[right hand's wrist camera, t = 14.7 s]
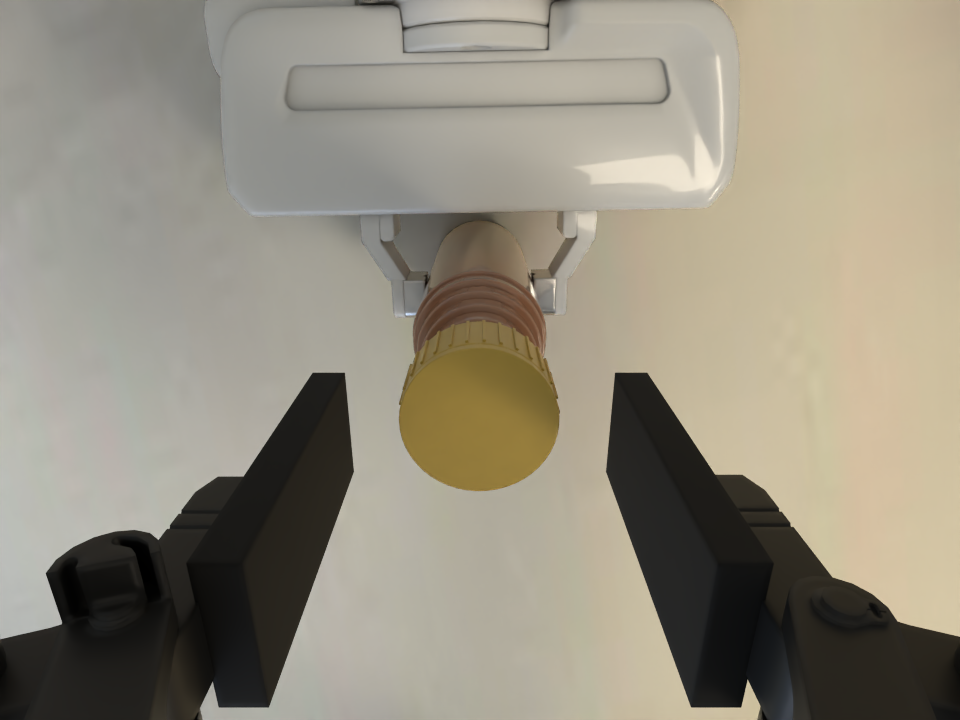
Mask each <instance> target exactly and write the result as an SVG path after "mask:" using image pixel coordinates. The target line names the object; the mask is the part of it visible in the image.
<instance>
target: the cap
mask: <svg viewBox="0 0 960 720" xmlns="http://www.w3.org/2000/svg"><path fill="white" fill-rule="evenodd" d="M556 399H558V395H557V392H556V388H555V385H554V381H553V378H552V374H551V372H550V370H549V367H548V363H547V360H546V358H545V359H543V357H542V355H541V354H540V350H539V347H538V346H537V347H535V346H534V345H533V343H532V342H530V341H529V337H528V336H526V337H525V336H523V335H522V334H520V333H519V332H517V331H516V329H515V328H513V329H511V328H509V327H506V326H504V325H501V323H500V322H498V324H497V323H492V322H485V320H482V321H479V322H478V321H476V322H470V321H466V323H462V324H458V325H454V324H453V325H451V327H450V328H447V329H445V330H443V331H441V332H440V331H438V332H437V334H436V335H435V336H434V337H433V338H431V339H430V340H429V341H428V340H426V341H425V345H424V346H423V347H422V349H421V350H420V351H419V352H418V351H417V352H416V355H415V358H414V362H413V364H410V366H409V370H408V373H407V376H406V380H405V383H404V386H403V392H402V395H401V398H400V402H399V405H401V406H400V411H399V426H400V432H401V436H402V440H403V442H404V445H405V447H406V449H407V451H408V453H409V454H410V456H411V457H412V459H413V460H414V461H415V463H416V464H417V465H418V466H419V467H420V468H421V469H422V470H423V471H424V472H426V473H427V474H428V475H430V476H431V477H433V478H434V479H436V480H438V481H439V482H442V483H444V484H446V485H448V486H452V487H455V488H458V489H463V490H470V491H488V490H496V489H500V488H504V487H507V486H510V485H512V484H515V483H517V482H519V481H521V480H523V479H524V478H526V477H527V476H529V475H530V474H532V473H533V472H534V471H535V470H536V469H537V468H538V467H539V466H540V465H541V464H542V463H543V462H544V461H545V459H546V458H547V456H548V455H549V453H550V452H551V450H552V448H553V446H554V444H555V441H556V437H557V434H558V428H559V414H560V410H559V407H558V403H557V400H556Z"/></svg>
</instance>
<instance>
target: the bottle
mask: <svg viewBox="0 0 960 720" xmlns="http://www.w3.org/2000/svg"><path fill="white" fill-rule="evenodd" d="M482 320H485V322H492V323H497V324H498V322H500V323H501V325H504V326H506V327H509V328H511V329H513V328H515V329H516V331H517V332H519V333H520V334H522V335H523V336H525V337H526V336H528V337H529V341H530V342H532V343H533V345H534V346H535V347H537V346H538V347H539V350H540V354H541V355H542V357H544V353H545V346H546V325H545V320H544V316H543V313H542V310H541V307H540V304H539V301H538V298H537V295H536V292H535V289H534V286H533V283H532V280H531V277H530V274H529V271H528V268H527V265H526V262H525V259H524V256H523V253H522V250H521V248H520V245H519V243H518V242H517V240H516V239H515V237H514V236H513V235H512V234H511V233H510V232H509V231H508V230H507V229H505V228H504V227H502V226H500V225H498V224H496V223H493V222H489V221H471V222H467V223H464V224H462V225H460V226H458V227H456V228H455V229H453V230H452V231H451V232H450V233H449V234H448V235H447V236H446V237H445V238H444V240H443V241H442V243H441V245H440V247H439V250H438V253H437V256H436V259H435V262H434V264H433V267H432V270H431V273H430V276H429V279H428V282H427V285H426V288H425V290H424V293H423V296H422V299H421V302H420V305H419V308H418V311H417V314H416V317H415V321H414V326H413V343H414V352H415V355H416V352H417V351H418V352H419V351H420V350H421V349H422V347H423V346H424V345H425V341H426V340H428V341H429V340H430V339H431V338H433V337H434V336H435V335H436V334H437V332H438V331H440V332H441V331H443V330H445V329H447V328H450V327H451V325H453V324H454V325H458V324H462V323H466V321H470V322H476V321H478V322H479V321H482Z"/></svg>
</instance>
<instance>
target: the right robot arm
mask: <svg viewBox="0 0 960 720" xmlns="http://www.w3.org/2000/svg"><path fill="white" fill-rule="evenodd" d="M353 473H354V468H353V457H352V447H351V436H350V425H349V414H348V403H347V392H346V381H345V373H312V375H311V376H310V378H309V379H308V381H307V382H306V384H305V385H304V387H303V388H302V390H301V391H300V393H299V394H298V396H297V397H296V399H295V400H294V402H293V403H292V405H291V406H290V408H289V409H288V411H287V412H286V414H285V415H284V417H283V418H282V420H281V421H280V423H279V424H278V426H277V427H276V429H275V430H274V432H273V433H272V435H271V436H270V438H269V439H268V441H267V442H266V444H265V445H264V447H263V448H262V450H261V451H260V453H259V454H258V456H257V457H256V459H255V460H254V462H253V463H252V465H251V466H250V468H249V469H248V471H247V472H246V474H245V475H244V477H217V478H215V479H214V480H213V481H211V482H210V483H208V484H207V485H205V486H204V487H202V488H201V489H199V490H198V491H196V492H195V493H194V495H193V496H192V497H191V499H190V500H189V501H188V502H187V504H186V505H185V506H184V508H183V509H182V512H181V514H178V516H177V517H176V518H175V519H174V521H173V522H172V523H171V525H170V529H167V530H166V531H165V532H164V534H163V535H162V536H161V538H160V539H159V540H158V539H156V538H155V537H154V536H153V535H151V534H150V533H147V532H142V531H137V530H129V531H117V532H112V533H108V534H105V535H101V536H98V537H94V538H92V539H90V540H88V541H85V542H83V543H81V544H79V545H77V546H75V547H73V548H72V549H70V550H69V551H68V552H66V553H65V554H63V555H62V556H61V557H59V558H58V559H57V560H56V561H55V562H54V563H53V565H52V566H51V567H50V569H49V570H48V571H47V572H46V576H47V579H48V581H49V584H50V587H51V590H52V593H53V596H54V599H55V602H56V605H57V608H58V611H59V614H60V617H61V620H62V625H59V626H55V627H52V628H48V629H43V630H39V631H35V632H30V633H26V634H22V635H17V636H13V637H9V638H4V639H0V720H202V715H201V711H200V707H201V705H202V702H203V700H204V698H205V696H206V694H207V692H208V690H209V688H210V686H211V684H212V682H213V684H214V688H215V693H216V697H217V701H218V706H219V707H269V705H270V703H271V700H272V697H273V694H274V692H275V689H276V686H277V683H278V680H279V678H280V675H281V672H282V669H283V667H284V664H285V661H286V658H287V656H288V653H289V650H290V647H291V644H292V642H293V639H294V636H295V633H296V631H297V628H298V625H299V622H300V619H301V617H302V614H303V611H304V608H305V606H306V603H307V600H308V597H309V595H310V592H311V589H312V586H313V583H314V581H315V578H316V575H317V572H318V570H319V567H320V564H321V561H322V558H323V556H324V553H325V550H326V547H327V545H328V542H329V539H330V536H331V534H332V531H333V528H334V525H335V522H336V520H337V517H338V514H339V511H340V509H341V506H342V503H343V500H344V497H345V495H346V492H347V489H348V486H349V484H350V481H351V478H352V475H353ZM606 473H607V475H608V478H609V481H610V484H611V486H612V489H613V492H614V495H615V497H616V500H617V503H618V506H619V509H620V511H621V514H622V517H623V520H624V522H625V525H626V528H627V531H628V534H629V536H630V539H631V542H632V545H633V547H634V550H635V553H636V556H637V558H638V561H639V564H640V567H641V570H642V572H643V575H644V578H645V581H646V583H647V586H648V589H649V592H650V595H651V597H652V600H653V603H654V606H655V608H656V611H657V614H658V617H659V619H660V622H661V625H662V628H663V631H664V633H665V636H666V639H667V642H668V644H669V647H670V650H671V653H672V656H673V658H674V661H675V664H676V667H677V669H678V672H679V675H680V678H681V680H682V683H683V686H684V689H685V692H686V694H687V697H688V700H689V703H690V705H691V707H741V706H742V701H743V697H744V693H745V688H746V684H747V679H748V681H749V683H750V685H751V687H752V689H753V691H754V693H755V695H756V697H757V699H758V701H759V704H760V706H761V707H760V711H759V715H758V719H757V720H960V637H958V636H954V635H949V634H945V633H941V632H936V631H932V630H928V629H923V628H919V627H915V626H910V625H907V624H903V623H900V622H897V620H896V619H895V617H894V616H893V614H892V613H891V611H890V610H889V608H888V607H887V606H886V605H884V604H883V603H882V602H881V601H880V600H878V599H877V598H876V597H875V596H874V595H872V594H871V593H869V592H867V591H865V590H863V589H861V588H859V587H858V586H856V585H854V584H852V583H848V582H845V581H842V580H839V579H836V578H832V576H831V575H830V574H829V572H828V571H827V570H826V569H825V567H824V566H823V565H822V563H821V562H820V561H819V559H818V558H817V557H816V556H815V554H814V553H813V552H812V550H811V549H810V548H809V547H808V545H807V544H806V543H805V541H804V540H803V539H802V538H801V536H800V535H799V534H798V532H797V531H796V530H795V528H794V527H791V525H790V522H789V521H788V519H787V518H786V517H785V516H784V514H783V513H782V512H779V508H778V506H777V505H776V504H775V503H774V501H773V500H772V499H771V497H770V496H769V495H768V494H767V492H766V491H765V490H764V489H762V488H761V487H759V486H758V485H756V484H755V483H754V482H752V481H751V480H749V479H748V478H746V477H745V476H743V475H715V474H714V472H713V471H712V469H711V468H710V466H709V465H708V463H707V462H706V460H705V459H704V457H703V456H702V454H701V453H700V451H699V450H698V448H697V447H696V445H695V444H694V442H693V441H692V439H691V438H690V436H689V435H688V433H687V432H686V430H685V429H684V427H683V426H682V424H681V423H680V421H679V420H678V418H677V417H676V415H675V414H674V412H673V411H672V409H671V408H670V406H669V405H668V403H667V402H666V400H665V399H664V397H663V396H662V394H661V393H660V391H659V390H658V388H657V387H656V385H655V384H654V382H653V381H652V379H651V378H650V376H649V375H648V373H615V381H614V392H613V403H612V414H611V425H610V436H609V447H608V457H607V468H606Z"/></svg>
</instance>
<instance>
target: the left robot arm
mask: <svg viewBox="0 0 960 720" xmlns="http://www.w3.org/2000/svg"><path fill="white" fill-rule="evenodd" d="M204 21H205V27H206V34H207V40H208V46H209V52H210V57H211V60H212V63H213V66H214V68H215V71H216V72H217V74H218V76H219V77H220V113H221V137H222V149H223V160H224V170H225V178H226V184H227V188H228V191H229V193H230V195H231V196H232V197H233V198H234V199H235V200H236V202H237V203H238V204H239V205H240V206H241V207H242V208H243V209H244V210H245V211H246V212H247V213H248V214H249V215H251V216H254V217H276V216H329V215H360V226H361V237H362V243H363V245H364V246H365V247H366V249H367V250H368V252H369V253H370V255H371V256H372V258H373V259H374V260H375V262H376V263H377V265H378V266H379V268H380V269H381V271H382V272H383V273H384V275H385V276H386V278H387V279H388V281H391V283H392V296H393V309H394V315H395V318H406V317H416V314H417V311H418V308H419V305H420V302H421V299H422V296H423V293H424V290H425V288H426V285H427V282H428V272H413V271H410V269H409V267H408V266H407V264H406V263H405V261H404V259H403V258H402V256H401V255H400V253H399V251H398V250H397V248H396V247H395V245H394V243H393V242H392V241H393V239H394V238H395V237H396V236H397V235H398V233H399V232H400V231H401V229H400V214H435V213H488V212H542V211H557V228H558V230H559V231H560V232H561V234H562V235H563V236H564V237H565V240H564V242H563V244H562V245H561V247H560V249H559V250H558V252H557V254H556V256H555V257H554V259H553V261H552V262H551V264H550V266H549V269H536V270H531V280H532V283H533V286H534V289H535V292H536V295H537V298H538V301H539V304H540V307H541V310H542V313H543V315H565V314H566V308H567V281H568V277H571V276H572V274H573V273H574V271H575V270H576V268H577V266H578V265H579V263H580V262H581V260H582V259H583V257H584V255H585V254H586V252H587V251H588V249H589V248H590V246H591V245H592V243H593V241H594V240H595V238H596V220H597V210H648V209H698V208H707V207H709V206H711V205H712V204H713V203H714V202H715V201H716V200H717V199H718V197H719V196H720V195H721V194H722V193H723V191H724V190H725V189H726V188H727V187H728V185H729V184H730V182H731V180H732V176H733V172H734V166H735V159H736V151H737V140H738V128H739V108H740V56H739V46H738V40H737V36H736V32H735V29H734V26H733V24H732V22H731V20H730V18H729V16H728V15H727V14H726V12H725V11H724V10H723V9H722V8H721V7H720V6H719V5H718V4H716V3H715V2H713V1H711V0H206V1H205V6H204Z"/></svg>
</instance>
